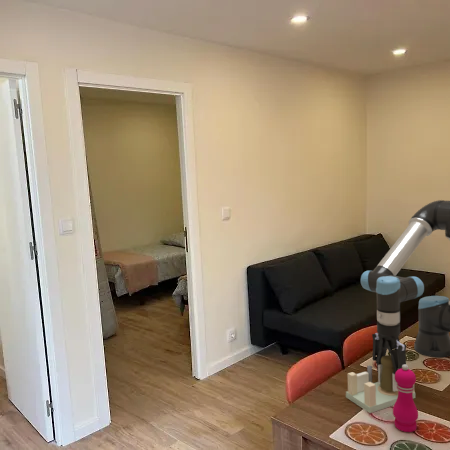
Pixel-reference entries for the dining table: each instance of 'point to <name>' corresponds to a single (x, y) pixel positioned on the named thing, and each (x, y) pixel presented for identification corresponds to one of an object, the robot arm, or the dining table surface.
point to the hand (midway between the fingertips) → (389, 385)
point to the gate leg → (357, 382)
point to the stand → (374, 396)
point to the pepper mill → (405, 400)
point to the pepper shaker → (387, 373)
